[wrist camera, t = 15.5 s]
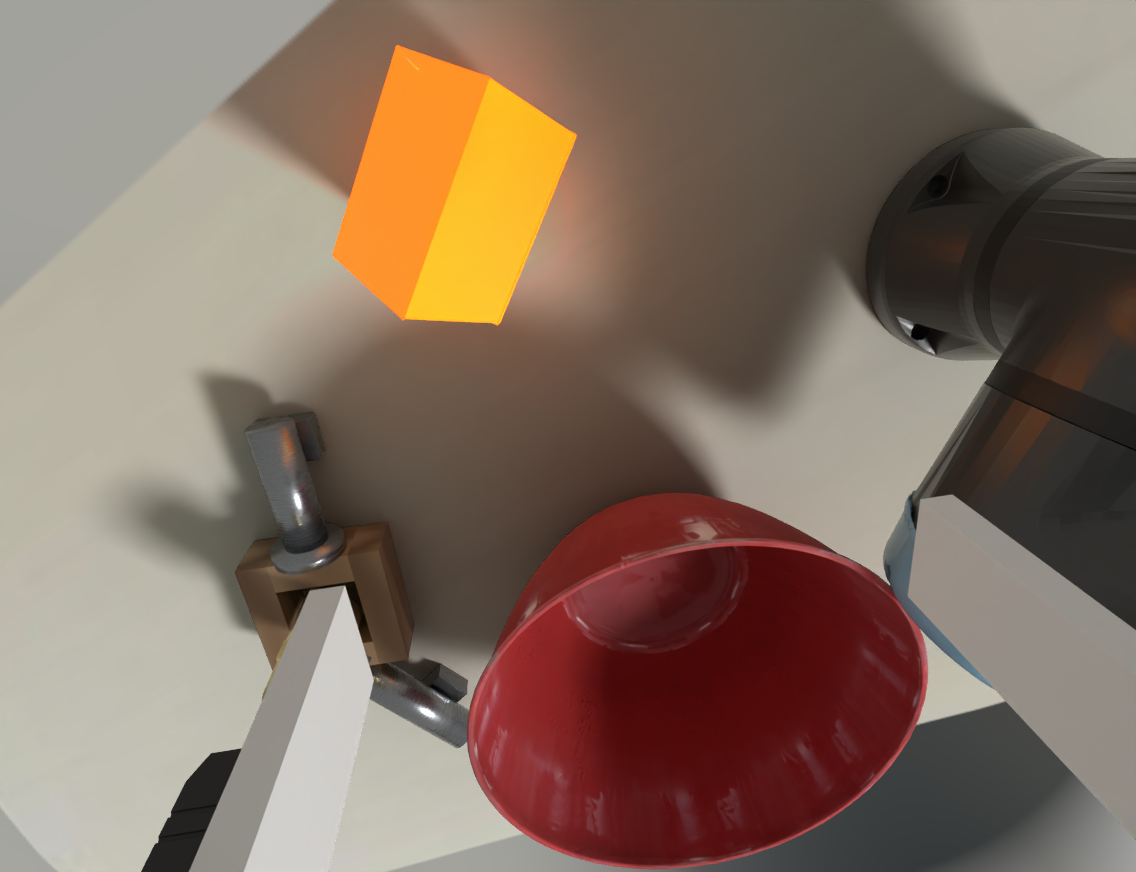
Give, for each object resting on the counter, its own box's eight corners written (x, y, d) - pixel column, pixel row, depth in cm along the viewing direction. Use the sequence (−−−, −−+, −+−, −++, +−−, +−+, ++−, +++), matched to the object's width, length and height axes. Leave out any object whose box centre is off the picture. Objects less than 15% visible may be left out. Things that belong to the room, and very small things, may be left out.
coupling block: (387, 521, 49) (378, 550, 45) (414, 625, 53) (408, 659, 49) (254, 540, 49) (234, 572, 45) (291, 643, 53) (276, 680, 49)
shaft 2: (334, 653, 53) (317, 704, 48) (371, 615, 52) (358, 663, 47) (447, 718, 58) (443, 772, 53) (484, 685, 56) (483, 736, 51)
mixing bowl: (820, 669, 59) (914, 833, 46) (516, 726, 59) (518, 908, 45) (821, 388, 47) (952, 496, 33) (439, 460, 47) (409, 598, 33)
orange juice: (551, 141, 40) (599, 128, 22) (498, 274, 43) (501, 363, 24) (430, 81, 38) (369, 11, 20) (383, 225, 41) (291, 281, 22)
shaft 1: (354, 526, 49) (338, 568, 44) (287, 535, 49) (263, 579, 44) (319, 404, 45) (297, 435, 40) (246, 414, 45) (215, 446, 40)
